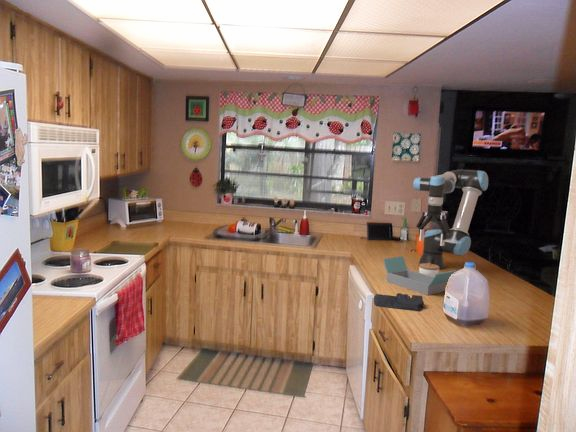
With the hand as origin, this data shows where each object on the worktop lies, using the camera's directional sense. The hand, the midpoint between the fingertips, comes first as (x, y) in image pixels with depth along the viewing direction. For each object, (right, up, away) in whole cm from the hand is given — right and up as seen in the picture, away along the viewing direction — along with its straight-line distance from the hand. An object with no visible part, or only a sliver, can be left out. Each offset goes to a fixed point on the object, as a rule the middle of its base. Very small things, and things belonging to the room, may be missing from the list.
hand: (431, 243), depth 256 cm
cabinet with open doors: (-12, -22, -13) cm, 28 cm away
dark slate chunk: (-29, -26, -44) cm, 58 cm away
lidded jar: (-1, -20, +3) cm, 21 cm away
